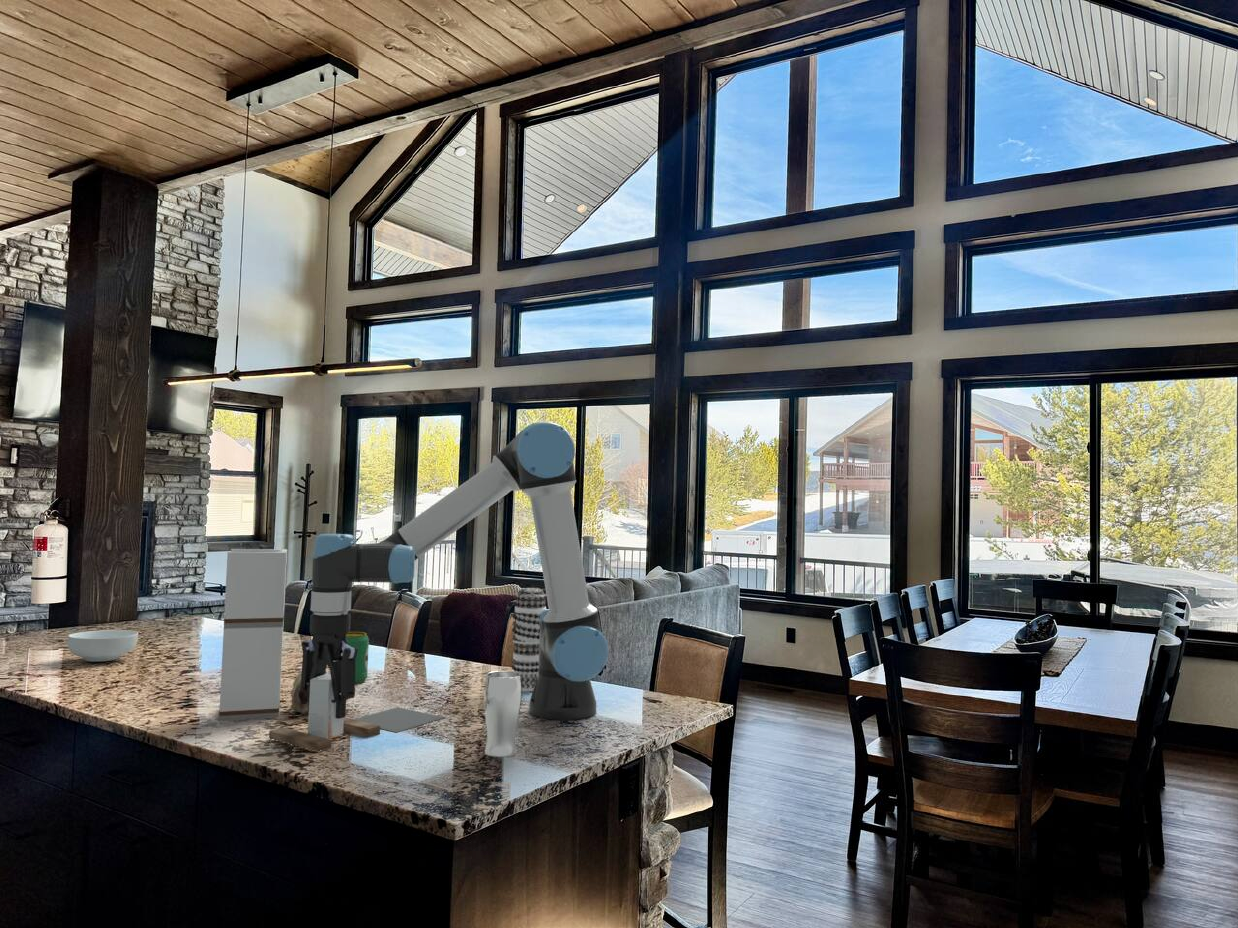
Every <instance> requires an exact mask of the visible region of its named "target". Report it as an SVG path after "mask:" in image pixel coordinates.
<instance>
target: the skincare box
mask: <svg viewBox="0 0 1238 928" xmlns="http://www.w3.org/2000/svg"><path fill="white" fill-rule="evenodd" d="M340 695H341V693H340ZM331 700H334V695H333V688H332V680H331V674H330V673H328V672H327V674H325V675H321V676H318V677H316V678H313V679H311V680H310V697H309V713H308V714H307V715H308V718H307V721H308V722H307V732H306V733H307V734H311V735H315V736H319V737H322V738H326V739H331V738H333V737H335V738H336V737H339V736H341V735H342V734H339V735H335V736H329V730H330V708H331ZM333 739H334V738H333ZM331 740H332V739H331Z"/></svg>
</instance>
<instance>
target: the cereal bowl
mask: <svg viewBox="0 0 1238 928" xmlns="http://www.w3.org/2000/svg"><path fill="white" fill-rule="evenodd" d="M138 639H139V632H138V631H135V630H129V629H128V630H127V629H106V630H105V629H104V630H103V629H102V630H101V629H100V630H90V631H89V630H88V631H80V632H73V633H70V634H67V639H66V640H67V641H66V642H67V644H66V645H67V648H68V651H69V652H70V653H71V654H73V655H74V656H76V657H79V658H82V659H84V661H86V662H108V661H110V662H111V661H115V660H117V659H119V658H120V657H121V656H124V655H126V654H129V652H132V650H134V649H135V647H136V645H137V643H138Z"/></svg>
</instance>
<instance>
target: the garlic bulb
mask: <svg viewBox="0 0 1238 928" xmlns="http://www.w3.org/2000/svg"><path fill="white" fill-rule="evenodd" d="M327 673H328V671H327V670H326V671H325V674H327ZM301 674H302V670H301V671H300V672H299V673H298V674H297V675H296V677H295V679H294V680H293V682H292V683H293V684H292V689H291V695H290V696H291V700H290V701H291V702H290V703H291V705H289V706H290V707H289V708H290V709H291V710H292V711H294V712H297V713H300V714H302V715H309V712H308V696H307V693H306V692H305V691H301ZM307 684H309V683H307Z"/></svg>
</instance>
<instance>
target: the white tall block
mask: <svg viewBox="0 0 1238 928" xmlns="http://www.w3.org/2000/svg"><path fill="white" fill-rule="evenodd" d="M226 554H227V559H226V574H225V575H226V577H225V592H224V593H225V594H224V598H225V599H224V612H223V613H224V617H223V618H224V619H223V632H222V633H223V634H222V635H223V636H222V652H221V653H222V655H221V656H222V657H221V658H222V659H221V674H220V675H221V676H220V677H221V678H220V695H219V715H218V716H219V717H218V722H219V721H220V722H222V721H238V720H239V721H241V720H253V719H254V720H256V719H270V718H271V719H273V718H279V717H280V707H281V705H280V704H281V685H282V667H283V665H282V664H283V645H284V644H283V642H284V641H283V640H284V625H285V622H284V621H285V606H286V605H285V602H286V601H285V600H286V579H287V578H286V577H287V562H288V561H287V559H288V549H287V548H285V549H283V548H282V549H280V548H279V549H278V548H277V549H276V548H275V549H274V548H272V549H271V548H268V549H267V548H262V549H260V548H247V549H246V548H231V550H230V551H227V553H226Z"/></svg>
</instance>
